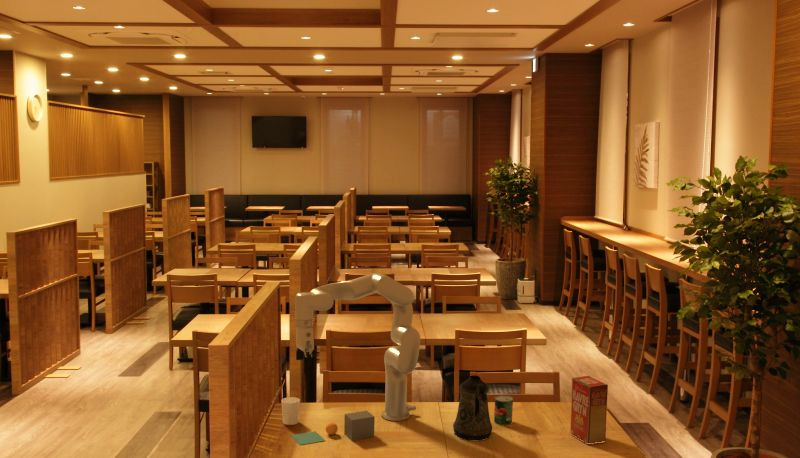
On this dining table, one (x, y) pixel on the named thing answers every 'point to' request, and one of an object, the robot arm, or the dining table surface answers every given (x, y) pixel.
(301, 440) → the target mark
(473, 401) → the beer stein
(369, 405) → the dining table surface
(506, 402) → the canned tomato
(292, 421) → the white cup
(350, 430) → the grey rectangular box
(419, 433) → the dining table surface
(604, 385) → the food packaging
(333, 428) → the ball
